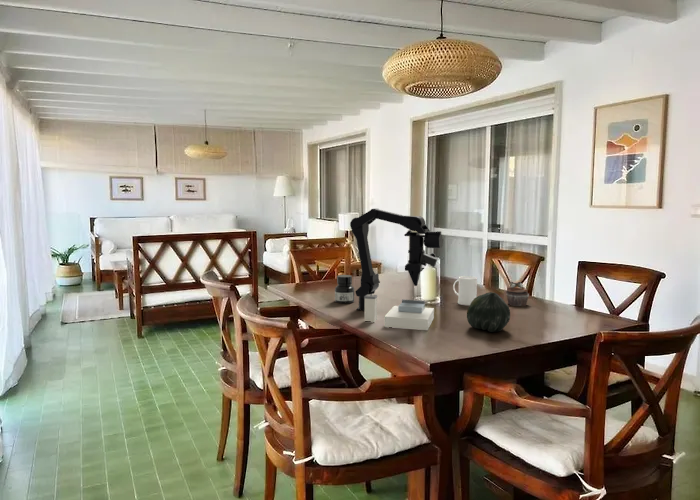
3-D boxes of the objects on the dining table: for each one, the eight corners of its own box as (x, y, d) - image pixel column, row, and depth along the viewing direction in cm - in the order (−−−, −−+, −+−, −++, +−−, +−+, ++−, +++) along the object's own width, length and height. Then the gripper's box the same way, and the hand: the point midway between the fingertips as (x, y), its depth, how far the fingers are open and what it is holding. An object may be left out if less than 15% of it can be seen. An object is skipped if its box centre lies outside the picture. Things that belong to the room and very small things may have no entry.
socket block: (394, 315, 202) (394, 305, 202) (433, 318, 198) (434, 308, 197) (384, 327, 184) (384, 316, 184) (427, 330, 180) (427, 319, 179)
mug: (448, 302, 228) (448, 276, 227) (459, 299, 233) (460, 274, 232) (469, 306, 219) (469, 279, 218) (480, 303, 224) (481, 277, 223)
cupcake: (510, 306, 219) (511, 284, 218) (503, 302, 228) (503, 280, 227) (532, 306, 219) (532, 284, 218) (523, 301, 229) (524, 280, 228)
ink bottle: (332, 303, 225) (332, 277, 224) (336, 299, 234) (336, 274, 232) (353, 304, 223) (353, 277, 222) (356, 300, 232) (356, 274, 231)
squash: (471, 307, 192) (469, 283, 182) (511, 312, 187) (512, 287, 176) (465, 338, 184) (463, 314, 173) (507, 344, 178) (508, 320, 168)
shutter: (402, 306, 200) (402, 299, 199) (424, 308, 197) (424, 300, 197) (398, 311, 192) (398, 303, 191) (421, 312, 189) (421, 305, 189)
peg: (366, 319, 196) (366, 294, 195) (377, 320, 195) (377, 294, 194) (364, 321, 192) (364, 296, 191) (374, 322, 191) (374, 297, 190)
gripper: (433, 250, 190) (432, 290, 191) (438, 245, 208) (438, 282, 209) (404, 249, 193) (404, 289, 195) (412, 245, 211) (411, 281, 212)
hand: (415, 285), depth 203 cm, fingers closed
